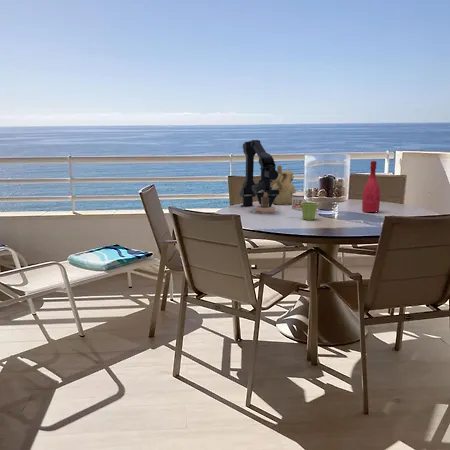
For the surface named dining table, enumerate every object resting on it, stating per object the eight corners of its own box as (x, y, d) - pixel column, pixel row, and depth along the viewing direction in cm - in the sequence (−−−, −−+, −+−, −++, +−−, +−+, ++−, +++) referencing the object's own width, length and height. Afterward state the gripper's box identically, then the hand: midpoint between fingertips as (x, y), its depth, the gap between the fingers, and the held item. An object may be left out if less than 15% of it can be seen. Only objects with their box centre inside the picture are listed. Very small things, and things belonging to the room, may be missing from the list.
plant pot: (299, 217, 277) (299, 201, 275) (316, 217, 277) (317, 202, 275) (300, 220, 268) (301, 204, 266) (318, 220, 268) (319, 204, 266)
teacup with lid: (289, 210, 302) (290, 190, 300) (292, 207, 310) (293, 188, 308) (309, 211, 298) (310, 191, 296) (312, 209, 306) (313, 189, 304)
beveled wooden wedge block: (260, 210, 288) (261, 196, 286) (266, 210, 290) (266, 196, 289) (262, 211, 286) (263, 197, 285) (268, 210, 288) (268, 196, 287)
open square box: (255, 211, 290) (255, 206, 289) (266, 210, 294) (266, 205, 293) (263, 213, 283) (263, 208, 282) (274, 212, 287) (275, 207, 287)
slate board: (247, 212, 291) (247, 211, 291) (267, 210, 298) (267, 209, 298) (260, 215, 281) (260, 214, 281) (280, 213, 288) (280, 212, 288)
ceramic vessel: (300, 203, 331) (302, 164, 326) (288, 206, 314) (289, 166, 309) (277, 200, 339) (278, 163, 334) (264, 204, 323) (264, 165, 318)
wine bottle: (360, 212, 295) (363, 161, 289) (362, 210, 304) (366, 160, 298) (378, 213, 291) (381, 161, 286) (379, 211, 300) (383, 160, 295)
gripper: (244, 177, 288) (244, 204, 291) (264, 180, 273) (263, 209, 276) (260, 176, 294) (259, 203, 297) (280, 179, 279) (279, 207, 282)
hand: (265, 205), depth 288 cm, fingers open, 9 cm apart
